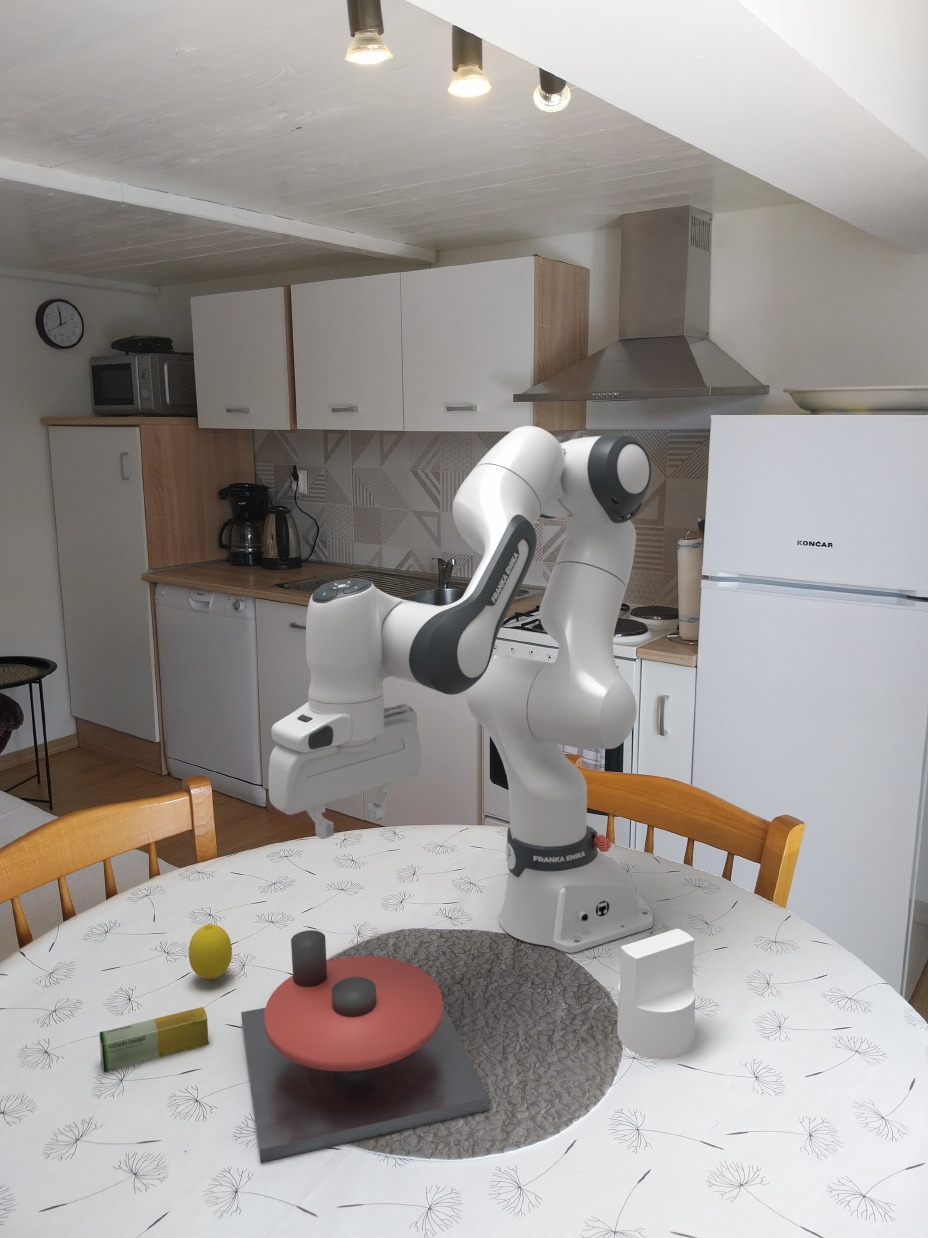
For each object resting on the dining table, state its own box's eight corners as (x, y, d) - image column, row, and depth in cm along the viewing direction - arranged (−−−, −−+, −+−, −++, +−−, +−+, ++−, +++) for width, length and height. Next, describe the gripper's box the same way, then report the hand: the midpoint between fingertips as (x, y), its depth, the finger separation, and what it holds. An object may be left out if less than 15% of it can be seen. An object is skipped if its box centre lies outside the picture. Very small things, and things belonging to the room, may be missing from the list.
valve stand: (430, 987, 124) (429, 945, 123) (489, 1110, 102) (488, 1059, 101) (241, 1023, 118) (238, 978, 116) (260, 1163, 95) (257, 1109, 94)
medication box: (102, 1076, 109) (99, 1045, 108) (100, 1061, 111) (97, 1031, 110) (210, 1046, 114) (208, 1016, 113) (205, 1033, 116) (204, 1004, 115)
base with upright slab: (648, 1068, 108) (651, 972, 106) (602, 1025, 116) (603, 935, 114) (709, 1044, 112) (713, 951, 110) (660, 1004, 120) (663, 917, 118)
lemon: (222, 993, 124) (218, 937, 122) (183, 989, 125) (178, 933, 123) (240, 970, 129) (237, 916, 128) (202, 966, 130) (198, 912, 129)
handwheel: (478, 1009, 109) (478, 959, 108) (344, 1099, 95) (341, 1043, 93) (362, 947, 122) (361, 902, 121) (229, 1018, 108) (225, 968, 107)
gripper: (399, 695, 122) (402, 797, 125) (258, 730, 109) (264, 843, 111) (431, 705, 118) (433, 811, 120) (287, 742, 104) (293, 861, 107)
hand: (351, 827), depth 116 cm, fingers open, 6 cm apart
